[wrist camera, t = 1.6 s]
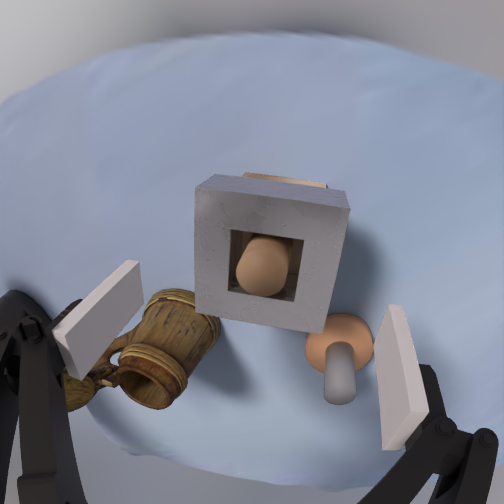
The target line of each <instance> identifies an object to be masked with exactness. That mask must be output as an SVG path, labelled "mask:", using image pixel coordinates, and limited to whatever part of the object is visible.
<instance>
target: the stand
mask: <svg viewBox="0 0 504 504" xmlns="http://www.w3.org/2000/svg"><path fill="white" fill-rule="evenodd" d="M242 177H248V178H256V179H264V180H272V181H280V182H288V183H295V184H302V185H309V186H316V187H322V188H326V183H321V182H314V181H308V180H301V179H293V178H286V177H278V176H270V175H262V174H254V173H245V174H244V175H243V176H242ZM302 246H303V240H301V239H295V238H288V237H281V236H275V235H268V234H261V233H254V232H247V231H243V242H242V257H241V259H240V261H239V263H238V265H237V269H236V276H237V280H238V282H239V284H240V285H241V286H242V288H244V289H245V290H246V291H247V292H249V293H251V294H253V295H256V296H262V297H265V296H271V295H274V294H276V293H277V292H279V291H280V290H281V289H282V288H283V286H284V285H285V282H286V278H287V273H288V271H291V272H297V273H298V271H299V265H300V259H301V253H302Z"/></svg>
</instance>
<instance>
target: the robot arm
mask: <svg viewBox="0 0 504 504" xmlns="http://www.w3.org/2000/svg"><path fill="white" fill-rule="evenodd" d="M143 304H144V299H143V292H142V283H141V274H140V265H139V262H138V261H133V260H128V259H127V260H126V261H125V262H124V263H123V264H122V265H121V266H120V267H118V268H117V269H116V270H115V271H114V272H113V273H112V274H111V275H110V276H108V277H107V278H106V279H105V280H104V281H103V282H102V283H101V284H100V285H99V286H98V287H96V288H95V289H94V290H93V291H92V292H91V293H90V294H89V295H88V296H87V297H86V298H85V299H84V300H83V299H78V300H76V301H74V302H73V303H71V304H70V305H69V306H68V307H67V308H66V309H65V310H63V311H62V312H61V313H60V315H58V316H57V317H56V318H55V319H54V320H53V321H52V322H51V320H50V319H49V317H48V316H47V315H46V313H45V312H44V311H43V310H42V309H41V308H40V307H39V305H38V304H37V303H36V302H34V301H33V300H32V299H31V298H30V297H28V296H27V295H26V294H24V293H22V292H20V291H17V290H10V291H8V292H7V293H6V294H5V295H3V296H2V297H1V298H0V504H4V501H5V494H6V485H7V476H8V469H9V463H10V457H11V451H12V445H13V439H14V435H15V430H16V425H17V421H18V416H19V431H20V448H21V460H22V470H23V474H22V476H20V477H18V479H17V488H18V495H19V501H20V504H88V503H87V501H86V499H85V496H84V492H83V488H82V485H81V480H80V476H79V472H78V467H77V463H76V458H75V453H74V448H73V443H72V438H71V432H70V426H69V419H68V412H67V405H66V396H65V387H64V377H63V374H62V370H63V369H64V368H65V367H66V369H67V371H68V374H69V375H70V376H72V377H74V378H76V379H78V380H81V381H82V380H83V379H84V377H85V376H86V375H87V373H88V372H89V371H90V369H91V368H92V367H93V366H94V364H95V363H96V362H97V361H98V359H99V358H100V357H101V355H102V354H103V353H104V352H105V350H106V349H107V348H108V347H109V345H110V344H111V343H112V342H113V340H114V339H115V338H116V337H117V335H118V334H119V333H120V332H121V331H122V329H123V328H124V327H125V326H126V324H127V323H128V322H129V321H130V320H131V318H132V317H133V316H134V315H135V313H136V312H137V311H138V310H139V309H140V307H141V306H142V305H143ZM373 348H374V356H375V365H376V374H377V383H378V393H379V405H380V418H381V433H382V450H394V451H399V450H400V449H401V448H402V447H403V445H404V444H405V446H406V452H405V453H404V454H403V456H402V457H401V458H400V459H399V460H398V461H397V462H396V464H395V465H394V466H393V467H392V468H391V469H390V470H389V472H388V473H387V474H386V475H385V476H384V477H383V478H382V479H381V480H380V481H379V482H378V483H377V484H376V485H375V486H374V487H373V489H372V490H371V491H370V492H369V493H368V494H367V495H366V496H365V497H363V498H362V499H361V500H360V501H359V502H358V503H357V504H410V502H411V501H412V500H413V499H414V497H415V496H416V495H417V494H418V492H419V491H420V490H421V488H422V487H423V486H424V484H425V483H426V482H427V480H428V479H429V478H430V476H431V475H432V474H433V473H435V474H439V478H438V480H437V483H436V486H435V488H434V491H433V493H432V496H431V498H430V500H429V503H428V504H486V501H487V497H488V493H489V489H490V485H491V481H492V476H493V472H494V467H495V462H496V457H497V451H498V445H499V444H498V438H497V435H496V434H495V433H494V432H493V431H492V430H490V429H488V428H481V429H478V430H477V431H476V432H475V433H474V434H471V433H467V432H464V431H461V430H458V429H457V426H456V424H455V422H453V421H452V420H451V419H450V418H448V417H447V416H446V412H445V407H444V403H443V399H442V395H441V391H440V388H439V384H438V380H437V377H436V373H435V372H434V370H433V369H432V368H431V366H430V365H425V364H418V360H417V356H416V352H415V348H414V345H413V341H412V337H411V334H410V330H409V327H408V324H407V320H406V317H405V314H404V310H403V307H402V306H397V305H390V304H388V307H387V310H386V313H385V316H384V318H383V321H382V324H381V326H380V329H379V332H378V334H377V337H376V340H375V342H374V345H373Z"/></svg>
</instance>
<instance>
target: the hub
mask: <svg viewBox="0 0 504 504" xmlns="http://www.w3.org/2000/svg"><path fill="white" fill-rule="evenodd" d="M305 352H306V358H307V360H308V362H309V363H310V365H311V366H312V367H313V368H315V369H316V370H318V371H320V372H322V373H325V380H324V399H325V400H326V401H327V402H329V403H331V404H334V405H343V404H347V403H349V402H351V401H353V400H354V399H355V397H356V377H355V371H357V370H359V369H361V368H362V367H363V366H365V365H366V364H367V363H368V361H369V360H370V358H371V356H372V353H373V342H372V335H371V331H370V328H369V326H368V325H367V324H366V322H364V321H363V320H362V319H361V318H359V317H357V316H354V315H351V314H344V313H338V314H332V315H328V316H327V317H326V321H325V325H324V329H323V332H322V334H315V333H309V332H308V334H307V340H306V350H305Z"/></svg>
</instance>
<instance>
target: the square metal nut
mask: <svg viewBox="0 0 504 504" xmlns="http://www.w3.org/2000/svg"><path fill="white" fill-rule="evenodd" d="M349 212H350V207H349V203H348V200H347V197H346V194H345V191H341V190H335V189H329V188H322V187H316V186H309V185H302V184H295V183H288V182H280V181H272V180H264V179H256V178H248V177H239V176H229V175H219V174H214V175H213V176H211V177H210V178H209V179H207V180H206V181H204V182H203V183H201V184H200V185H198V186H197V187H196V188H195V217H194V264H195V312H197V313H201V314H206V315H211V316H216V317H221V318H227V319H232V320H237V321H243V322H248V323H254V324H259V325H265V326H271V327H277V328H283V329H289V330H296V331H302V332H309V333H315V334H322V332H323V329H324V325H325V321H326V317H327V313H328V309H329V305H330V301H331V297H332V293H333V288H334V284H335V280H336V275H337V271H338V266H339V262H340V257H341V253H342V248H343V243H344V238H345V233H346V228H347V223H348V217H349ZM243 231H247V232H254V233H261V234H268V235H275V236H281V237H288V238H295V239H301V240H303V246H302V253H301V259H300V265H299V271H298V273H297V272H291V271H288V273H287V278H286V282H285V285H284V286H283V288H282V289H281V290H280V291H279V292H277V293H276V294H274V295H271V296H265V297H262V296H256V295H253V294H251V293H249V292H247V291H246V290H245V289H244V288H242V286H241V285H240V284H239V282H238V280H237V276H236V269H237V265H238V263H239V261H240V259H241V257H242V242H243Z"/></svg>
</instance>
